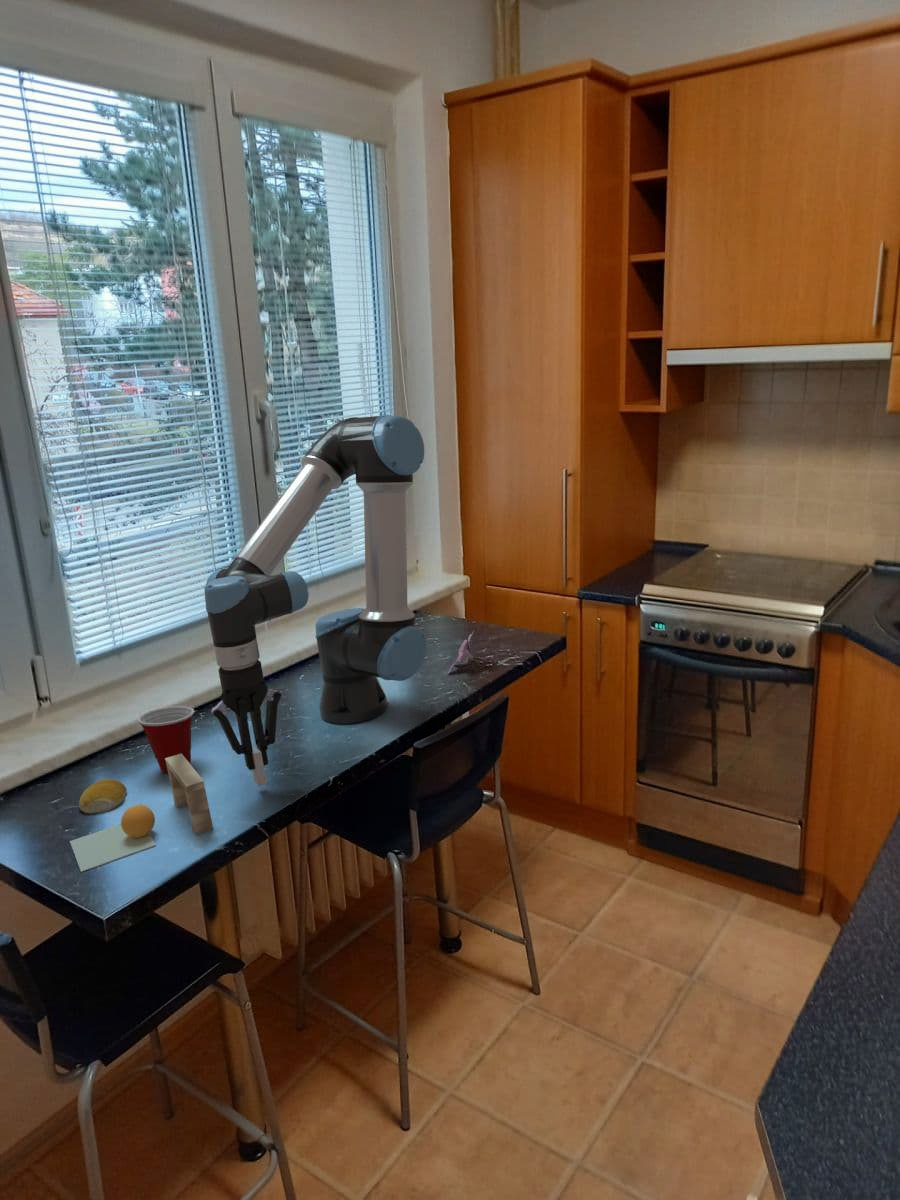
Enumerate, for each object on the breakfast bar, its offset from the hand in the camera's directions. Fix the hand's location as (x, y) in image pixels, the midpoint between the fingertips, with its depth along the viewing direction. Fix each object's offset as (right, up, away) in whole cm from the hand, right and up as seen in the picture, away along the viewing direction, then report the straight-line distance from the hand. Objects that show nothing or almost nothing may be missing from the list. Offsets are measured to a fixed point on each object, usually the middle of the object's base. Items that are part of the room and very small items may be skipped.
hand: (260, 782), depth 160 cm
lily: (+39, +17, +53) cm, 68 cm away
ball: (-19, -4, -11) cm, 22 cm away
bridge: (-11, -5, -6) cm, 13 cm away
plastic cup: (-20, 0, +15) cm, 25 cm away
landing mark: (-23, -8, -12) cm, 27 cm away
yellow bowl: (-30, -5, +3) cm, 31 cm away
